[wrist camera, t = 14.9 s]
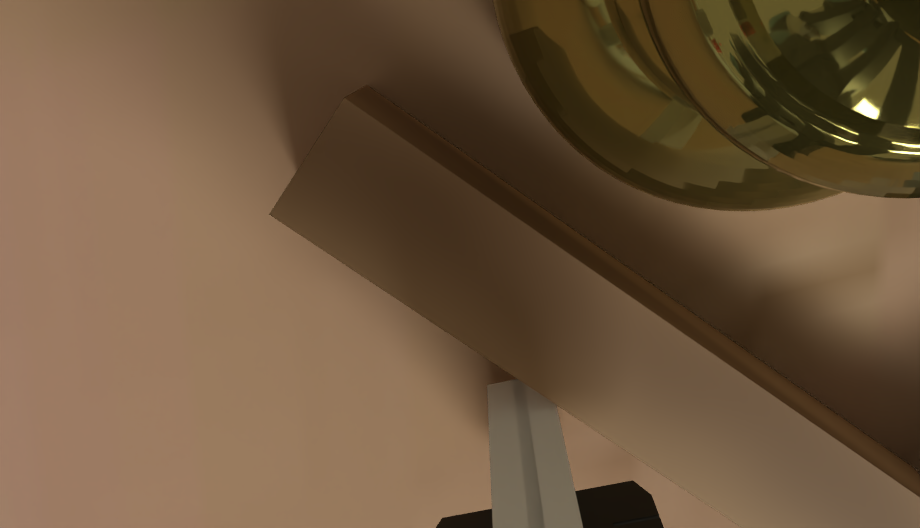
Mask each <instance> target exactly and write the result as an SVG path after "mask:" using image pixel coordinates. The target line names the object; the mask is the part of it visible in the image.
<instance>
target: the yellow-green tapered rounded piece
mask: <svg viewBox="0 0 920 528" xmlns="http://www.w3.org/2000/svg"><path fill="white" fill-rule="evenodd" d="M493 3H494V8H495V13H496V18H497V21H498V24H499V28H500V31H501V35H502V38H503V41H504V43H505V46H506V48H507V51H508V54H509V56H510V59H511V61H512V63H513V65H514V67H515V69H516V71H517V73H518V75H519V77H520V79H521V81H522V83H523V85H524V87H525V88H526V90H527V92H528V93H529V95H530V96H531V98H532V100H533V101H534V103H535V104H536V106H537V107H538V108H539V110H540V111H541V112H542V114H543V115H544V116H545V118H546V119H547V120H548V122H549V123H550V124H551V125H552V126H553V127H554V128H555V130H556V131H557V132H558V133H559V134H560V135H561V136H562V137H563V138H564V139H565V140H566V141H567V142H568V143H569V144H570V145H571V146H572V147H573V148H574V149H575V150H577V151H578V152H579V153H580V154H581V155H582V156H584V157H585V158H586V159H588V160H589V161H590V162H591V163H593V164H594V165H595V166H597V167H598V168H600V169H601V170H603V171H604V172H606V173H608V174H609V175H611V176H612V177H614V178H615V179H617V180H619V181H621V182H623V183H625V184H627V185H629V186H631V187H633V188H635V189H637V190H640V191H642V192H645V193H647V194H650V195H652V196H654V197H657V198H661V199H664V200H667V201H670V202H674V203H677V204H682V205H687V206H691V207H696V208H703V209H711V210H720V211H761V210H773V209H780V208H788V207H793V206H798V205H802V204H807V203H812V202H815V201H819V200H822V199H825V198H828V197H832V196H835V195H838V194H840V193H843V192H846V193H853V194H859V195H868V196H876V197H886V198H920V0H493Z"/></svg>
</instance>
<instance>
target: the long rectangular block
mask: <svg viewBox="0 0 920 528" xmlns="http://www.w3.org/2000/svg"><path fill="white" fill-rule="evenodd" d="M269 215H271V216H272V217H274V218H275V219H277V220H278V221H280V222H281V223H283V224H284V225H286V226H287V227H289V228H290V229H292V230H293V231H295V232H297V233H298V234H300V235H301V236H303V237H304V238H306V239H307V240H309V241H310V242H312V243H313V244H315V245H316V246H318V247H319V248H321V249H322V250H324V251H325V252H327V253H328V254H330V255H331V256H333V257H334V258H336V259H337V260H339V261H340V262H342V263H343V264H345V265H346V266H348V267H349V268H351V269H352V270H354V271H355V272H357V273H358V274H360V275H361V276H363V277H364V278H366V279H367V280H369V281H370V282H372V283H373V284H375V285H376V286H378V287H379V288H381V289H382V290H384V291H385V292H387V293H388V294H390V295H392V296H393V297H395V298H396V299H398V300H399V301H401V302H402V303H404V304H405V305H407V306H408V307H410V308H411V309H413V310H414V311H416V312H417V313H419V314H420V315H422V316H423V317H425V318H426V319H428V320H429V321H431V322H432V323H434V324H435V325H437V326H438V327H440V328H441V329H443V330H444V331H446V332H447V333H449V334H450V335H452V336H453V337H455V338H456V339H458V340H459V341H461V342H462V343H464V344H465V345H467V346H468V347H470V348H471V349H473V350H474V351H476V352H477V353H479V354H480V355H482V356H483V357H485V358H486V359H488V360H490V361H491V362H493V363H494V364H496V365H497V366H499V367H500V368H502V369H503V370H505V371H506V372H508V373H509V374H511V375H512V376H514V377H515V378H517V379H518V380H520V381H521V382H523V383H524V384H526V385H527V386H529V387H530V388H532V389H533V390H535V391H536V392H538V393H539V394H541V395H542V396H544V397H545V398H547V399H548V400H550V401H551V402H553V403H554V404H556V405H557V406H559V407H560V408H562V409H563V410H565V411H566V412H568V413H569V414H571V415H572V416H574V417H575V418H577V419H578V420H580V421H581V422H583V423H585V424H586V425H588V426H589V427H591V428H592V429H594V430H595V431H597V432H598V433H600V434H601V435H603V436H604V437H606V438H607V439H609V440H610V441H612V442H613V443H615V444H616V445H618V446H619V447H621V448H622V449H624V450H625V451H627V452H628V453H630V454H631V455H633V456H634V457H636V458H637V459H639V460H640V461H642V462H643V463H645V464H646V465H648V466H649V467H651V468H652V469H654V470H655V471H657V472H658V473H660V474H661V475H663V476H664V477H666V478H667V479H669V480H670V481H672V482H673V483H675V484H676V485H678V486H679V487H681V488H683V489H684V490H686V491H687V492H689V493H690V494H692V495H693V496H695V497H696V498H698V499H699V500H701V501H702V502H704V503H705V504H707V505H708V506H710V507H711V508H713V509H714V510H716V511H717V512H719V513H720V514H722V515H723V516H725V517H726V518H728V519H729V520H731V521H732V522H734V523H735V524H737V525H738V526H740V527H741V528H920V475H919V474H918V473H917V471H916V470H915V469H914V468H913V467H912V466H910V465H909V464H907V463H906V462H905V461H903V460H902V459H900V458H899V457H897V456H896V455H895V454H893V453H892V452H890V451H889V450H887V449H886V448H885V447H883V446H882V445H880V444H879V443H877V442H876V441H875V440H873V439H872V438H870V437H869V436H867V435H866V434H865V433H863V432H862V431H860V430H859V429H857V428H856V427H855V426H853V425H852V424H850V423H849V422H847V421H846V420H845V419H843V418H842V417H840V416H839V415H837V414H836V413H835V412H833V411H832V410H830V409H829V408H827V407H826V406H825V405H823V404H822V403H820V402H819V401H817V400H816V399H815V398H813V397H812V396H810V395H809V394H807V393H806V392H805V391H803V390H802V389H800V388H799V387H797V386H796V385H795V384H793V383H792V382H790V381H789V380H787V379H786V378H785V377H783V376H782V375H780V374H779V373H777V372H776V371H775V370H773V369H772V368H770V367H769V366H767V365H766V364H765V363H763V362H762V361H760V360H759V359H757V358H756V357H755V356H753V355H752V354H750V353H749V352H747V351H746V350H745V349H743V348H742V347H740V346H739V345H737V344H736V343H735V342H733V341H732V340H730V339H729V338H727V337H726V336H725V335H723V334H722V333H720V332H719V331H717V330H716V329H715V328H713V327H712V326H710V325H709V324H707V323H706V322H705V321H703V320H702V319H700V318H699V317H697V316H696V315H695V314H693V313H692V312H690V311H689V310H687V309H686V308H685V307H683V306H682V305H680V304H679V303H677V302H676V301H675V300H673V299H672V298H670V297H669V296H667V295H666V294H665V293H663V292H662V291H660V290H659V289H657V288H656V287H655V286H653V285H652V284H650V283H649V282H647V281H646V280H645V279H643V278H642V277H640V276H639V275H637V274H636V273H635V272H633V271H632V270H630V269H629V268H627V267H626V266H624V265H623V264H622V263H620V262H619V261H617V260H616V259H614V258H613V257H612V256H610V255H609V254H607V253H606V252H604V251H603V250H602V249H600V248H599V247H597V246H596V245H594V244H593V243H592V242H590V241H589V240H587V239H586V238H584V237H583V236H582V235H580V234H579V233H577V232H576V231H574V230H573V229H572V228H570V227H569V226H567V225H566V224H564V223H563V222H562V221H560V220H559V219H557V218H556V217H554V216H553V215H552V214H550V213H549V212H547V211H546V210H544V209H543V208H542V207H540V206H539V205H537V204H536V203H534V202H533V201H532V200H530V199H529V198H527V197H526V196H524V195H523V194H522V193H520V192H519V191H517V190H516V189H514V188H513V187H512V186H510V185H509V184H507V183H506V182H504V181H503V180H502V179H500V178H499V177H497V176H496V175H494V174H493V173H492V172H490V171H489V170H487V169H486V168H484V167H483V166H482V165H480V164H479V163H477V162H476V161H474V160H473V159H472V158H470V157H469V156H467V155H466V154H464V153H463V152H462V151H460V150H459V149H457V148H456V147H454V146H453V145H452V144H450V143H449V142H447V141H446V140H444V139H443V138H442V137H440V136H439V135H437V134H436V133H434V132H433V131H432V130H430V129H429V128H427V127H426V126H424V125H423V124H422V123H420V122H419V121H417V120H416V119H414V118H413V117H412V116H410V115H409V114H407V113H406V112H404V111H403V110H402V109H400V108H399V107H397V106H396V105H394V104H393V103H392V102H390V101H389V100H387V99H386V98H384V97H383V96H382V95H380V94H379V93H377V92H376V91H374V90H373V89H372V88H370V87H369V86H367V85H366V86H365V87H363V88H361V89H359V90H357V91H356V92H354V93H352V94H350V95H348V96H346V97H345V98H344V99H343V100H342V102H341V104H340V105H339V107H338V108H337V110H336V111H335V113H334V114H333V116H332V118H331V119H330V121H329V122H328V124H327V125H326V127H325V128H324V130H323V132H322V133H321V135H320V136H319V138H318V139H317V141H316V142H315V144H314V146H313V147H312V149H311V150H310V152H309V153H308V155H307V156H306V158H305V160H304V161H303V163H302V164H301V166H300V167H299V169H298V170H297V172H296V174H295V175H294V177H293V178H292V180H291V181H290V183H289V184H288V186H287V188H286V189H285V191H284V192H283V194H282V195H281V197H280V198H279V200H278V202H277V203H276V205H275V206H274V208H273V209H272V211H271V213H270V214H269Z"/></svg>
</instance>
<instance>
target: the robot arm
mask: <svg viewBox="0 0 920 528" xmlns="http://www.w3.org/2000/svg"><path fill="white" fill-rule="evenodd" d="M487 396H488V421H489V446H490V471H491V496H492V509H488V510H483V511H478V512H472V513H467V514H461V515H456V516H451V517H445V518H442V519H441V521H440V522H439V524H438V525H437V527H436V528H664V527H663V524H662V522H661V519H660V518H659V514H658V511H657V509H656V506H655V503H654V501H653V498H652V495H651V494H649V493H648V492H647V491H646V490H644V489H643V488H642V487H640V486H639V485H638V484H637V483H635V482H634V481H628V482H622V483H617V484H612V485H606V486H601V487H595V488H590V489H585V490H579V491H575V488H574V484H573V479H572V475H571V470H570V465H569V461H568V456H567V452H566V447H565V443H564V438H563V434H562V429H561V424H560V420H559V415H558V411H557V406H556V404H554V403H553V402H551V401H550V400H548V399H547V398H545V397H544V396H542V395H541V394H539V393H538V392H536V391H535V390H533V389H532V388H530V387H529V386H527V385H526V384H524V383H523V382H521V381H520V380H518V379H514V380H509V381H504V382H499V383H494V384H489V385H487Z"/></svg>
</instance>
